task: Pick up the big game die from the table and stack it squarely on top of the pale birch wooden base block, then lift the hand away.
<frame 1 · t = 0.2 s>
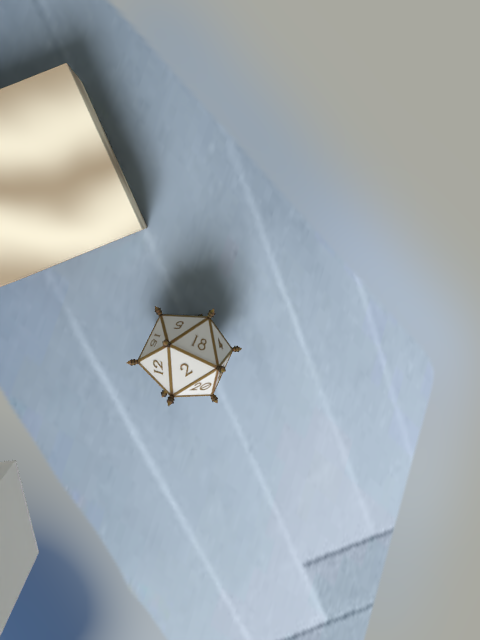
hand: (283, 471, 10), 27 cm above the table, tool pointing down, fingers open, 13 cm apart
birch base: (49, 185, 32), on the table
game die: (187, 340, 37), on the table
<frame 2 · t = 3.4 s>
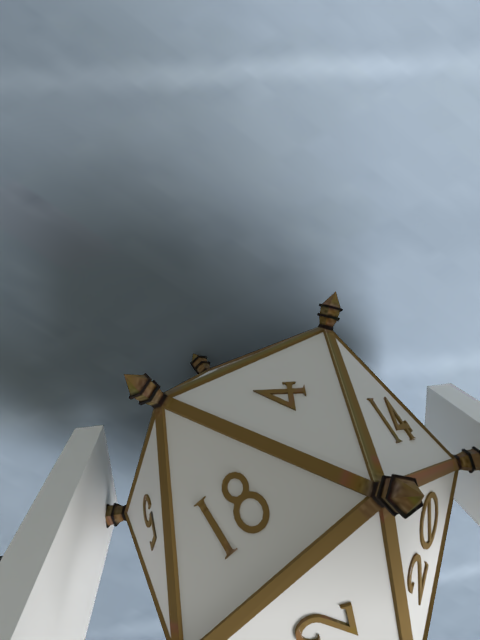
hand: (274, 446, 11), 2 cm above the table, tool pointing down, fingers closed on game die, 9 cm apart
game die: (255, 409, 13), on the table, touching gripper
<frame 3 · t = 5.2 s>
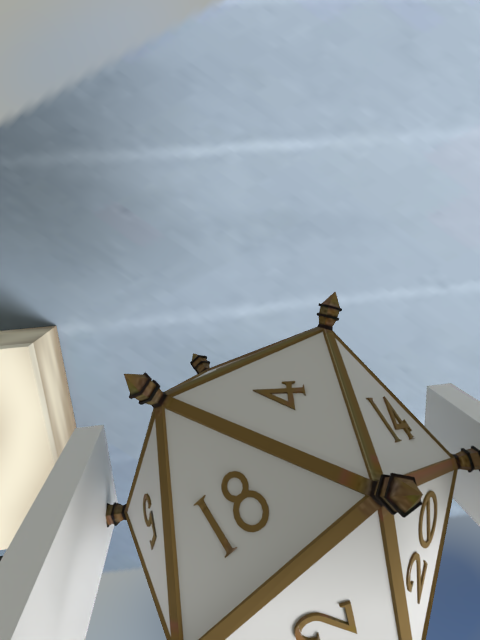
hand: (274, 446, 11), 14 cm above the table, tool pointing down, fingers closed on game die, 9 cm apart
game die: (254, 408, 14), point 11 cm above the table, touching gripper
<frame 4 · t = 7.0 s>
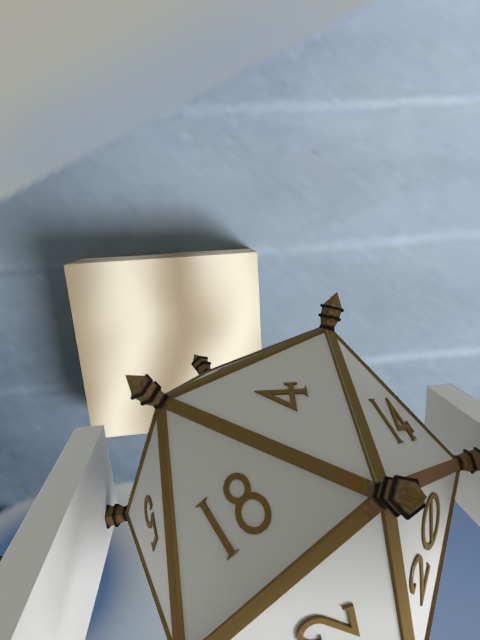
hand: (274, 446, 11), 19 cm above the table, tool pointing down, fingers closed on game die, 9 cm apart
birch base: (175, 332, 29), on the table
game die: (255, 409, 13), point 17 cm above the table, touching gripper
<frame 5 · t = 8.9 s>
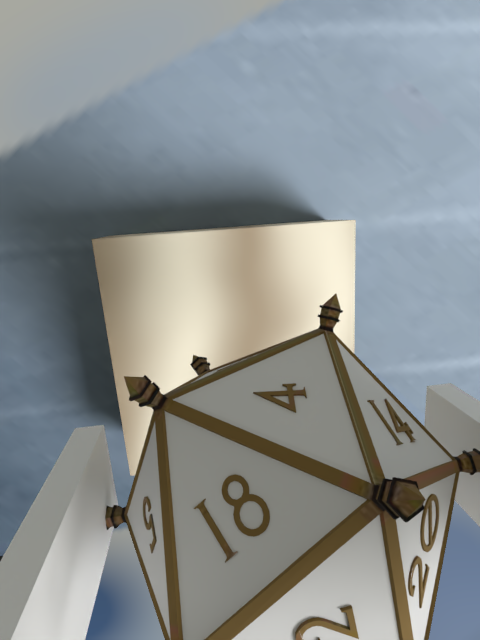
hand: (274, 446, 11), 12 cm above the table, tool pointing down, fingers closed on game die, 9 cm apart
birch base: (229, 331, 23), on the table
game die: (255, 410, 13), point 10 cm above the table, touching gripper
when the fingers open (8 cm above the table, at t = 10.7 s): game die drops 1 cm, resting on birch base.
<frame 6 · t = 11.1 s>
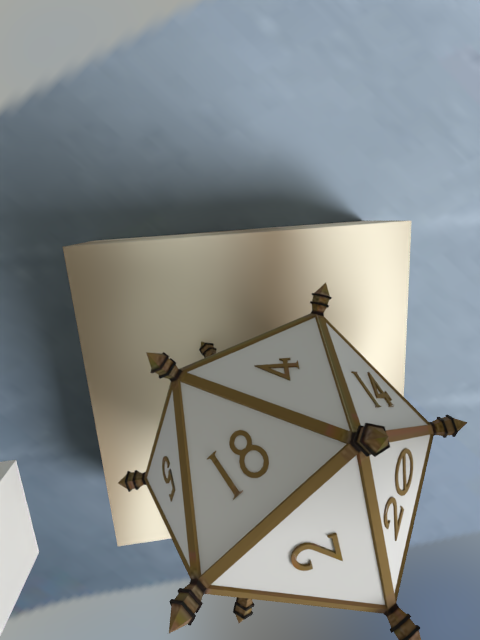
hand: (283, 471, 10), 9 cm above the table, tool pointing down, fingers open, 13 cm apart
birch base: (242, 358, 19), on the table
game die: (257, 391, 15), point 4 cm above the table, touching birch base
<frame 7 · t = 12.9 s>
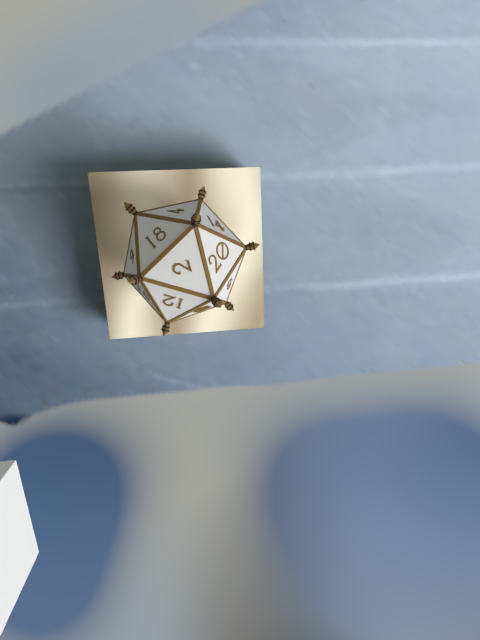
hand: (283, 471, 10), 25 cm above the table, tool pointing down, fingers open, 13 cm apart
birch base: (183, 251, 32), on the table
game die: (184, 255, 29), point 4 cm above the table, touching birch base
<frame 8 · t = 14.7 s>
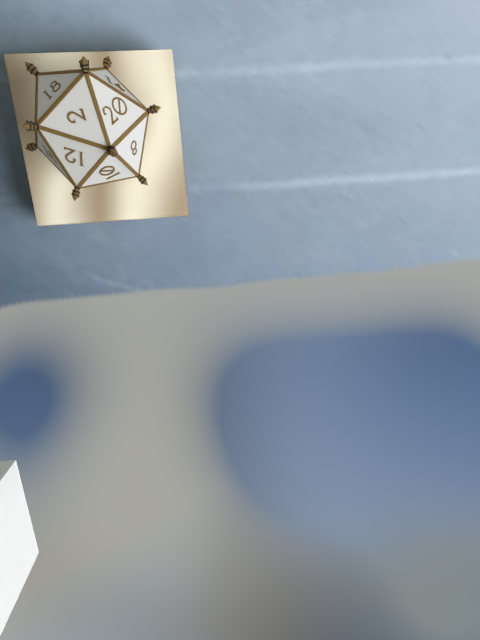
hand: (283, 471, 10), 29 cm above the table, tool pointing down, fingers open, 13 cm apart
birch base: (112, 149, 34), on the table
game die: (104, 141, 30), point 4 cm above the table, touching birch base
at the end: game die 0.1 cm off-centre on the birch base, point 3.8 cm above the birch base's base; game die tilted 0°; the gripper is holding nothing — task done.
